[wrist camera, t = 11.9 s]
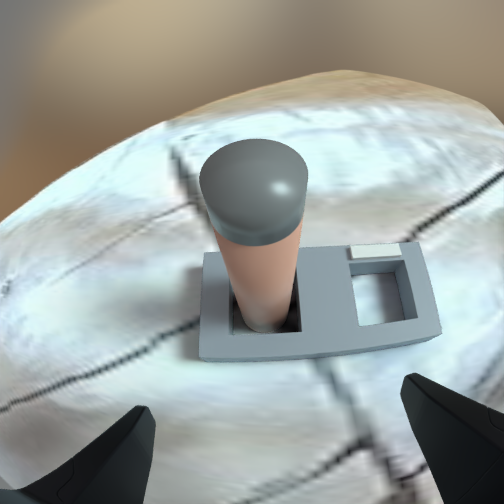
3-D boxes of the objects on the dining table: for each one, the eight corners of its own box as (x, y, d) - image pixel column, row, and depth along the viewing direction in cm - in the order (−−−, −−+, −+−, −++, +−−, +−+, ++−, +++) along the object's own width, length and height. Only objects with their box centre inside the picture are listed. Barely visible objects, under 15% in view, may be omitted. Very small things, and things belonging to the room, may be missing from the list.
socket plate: (206, 361, 22) (197, 356, 19) (209, 265, 26) (203, 250, 24) (428, 340, 21) (444, 332, 18) (408, 254, 25) (420, 239, 23)
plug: (250, 339, 23) (214, 230, 9) (235, 297, 25) (190, 155, 11) (295, 323, 23) (327, 194, 9) (278, 283, 25) (281, 130, 11)
